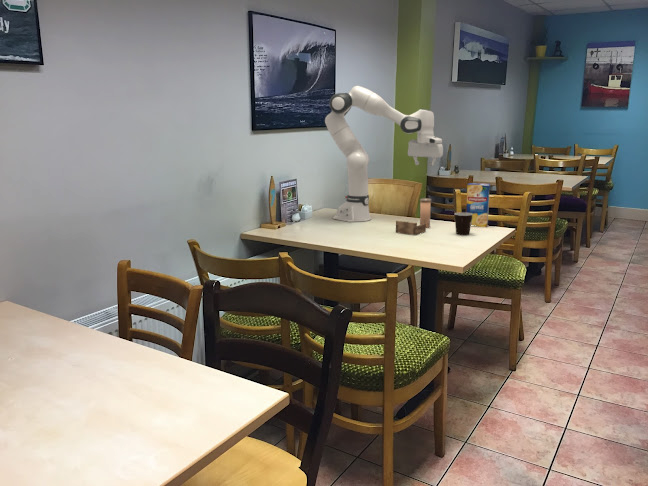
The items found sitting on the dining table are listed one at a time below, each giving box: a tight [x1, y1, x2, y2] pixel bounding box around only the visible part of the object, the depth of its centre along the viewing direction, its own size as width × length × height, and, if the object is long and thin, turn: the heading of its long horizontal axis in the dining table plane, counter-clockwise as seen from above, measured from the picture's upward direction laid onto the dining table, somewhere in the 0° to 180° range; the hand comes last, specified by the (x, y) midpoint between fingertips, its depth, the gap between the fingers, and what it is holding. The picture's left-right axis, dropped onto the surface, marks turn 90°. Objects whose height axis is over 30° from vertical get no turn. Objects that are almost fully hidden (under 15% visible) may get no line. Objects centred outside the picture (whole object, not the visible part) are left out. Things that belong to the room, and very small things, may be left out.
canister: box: [419, 197, 432, 229], centre depth 284 cm, size 6×6×15 cm
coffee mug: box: [454, 212, 473, 236], centre depth 267 cm, size 12×9×10 cm
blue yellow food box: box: [465, 182, 491, 228], centre depth 286 cm, size 7×11×22 cm, turn 70°
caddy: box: [395, 220, 427, 236], centre depth 274 cm, size 11×10×6 cm
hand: (424, 165), depth 297 cm, fingers open, 8 cm apart
